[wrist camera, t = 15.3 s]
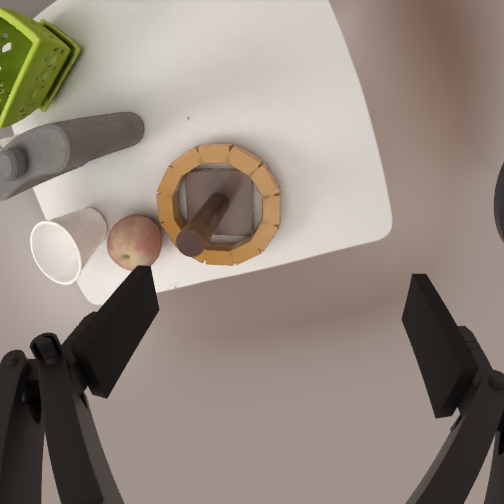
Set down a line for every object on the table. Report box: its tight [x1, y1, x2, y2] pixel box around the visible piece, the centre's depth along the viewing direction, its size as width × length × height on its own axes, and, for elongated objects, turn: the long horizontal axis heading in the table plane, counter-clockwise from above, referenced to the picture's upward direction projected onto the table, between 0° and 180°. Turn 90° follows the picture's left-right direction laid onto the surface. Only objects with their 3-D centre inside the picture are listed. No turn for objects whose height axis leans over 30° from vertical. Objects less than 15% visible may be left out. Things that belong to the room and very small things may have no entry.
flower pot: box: [0, 8, 81, 128], centre depth 32 cm, size 14×14×13 cm
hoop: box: [157, 144, 281, 266], centre depth 42 cm, size 16×16×2 cm
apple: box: [107, 214, 162, 271], centre depth 45 cm, size 8×8×8 cm
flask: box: [0, 112, 144, 201], centre depth 33 cm, size 15×6×20 cm, turn 104°
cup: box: [30, 208, 107, 285], centre depth 44 cm, size 10×10×11 cm
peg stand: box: [176, 169, 253, 257], centre depth 38 cm, size 9×9×14 cm
